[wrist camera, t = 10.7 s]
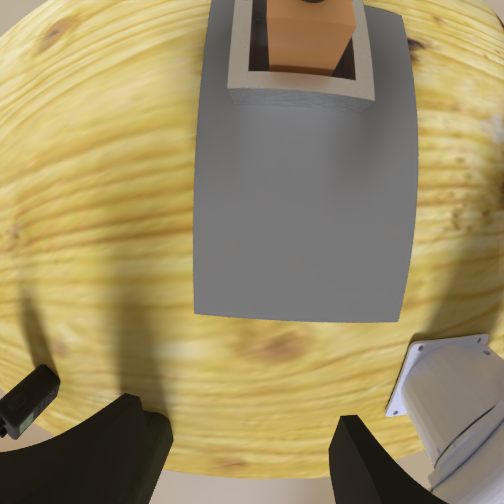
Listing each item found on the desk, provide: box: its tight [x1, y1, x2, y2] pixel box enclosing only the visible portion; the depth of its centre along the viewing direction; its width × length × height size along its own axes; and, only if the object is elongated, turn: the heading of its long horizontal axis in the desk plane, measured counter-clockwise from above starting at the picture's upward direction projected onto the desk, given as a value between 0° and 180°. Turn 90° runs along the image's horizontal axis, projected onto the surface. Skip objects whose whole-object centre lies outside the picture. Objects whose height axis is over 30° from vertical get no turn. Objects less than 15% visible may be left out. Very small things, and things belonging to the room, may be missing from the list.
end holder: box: [227, 0, 375, 115], centre depth 12 cm, size 8×8×3 cm
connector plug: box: [267, 0, 356, 77], centre depth 10 cm, size 4×4×9 cm
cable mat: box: [193, 0, 418, 323], centre depth 15 cm, size 14×23×1 cm, turn 177°
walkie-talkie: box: [0, 364, 60, 440], centre depth 15 cm, size 5×3×15 cm
